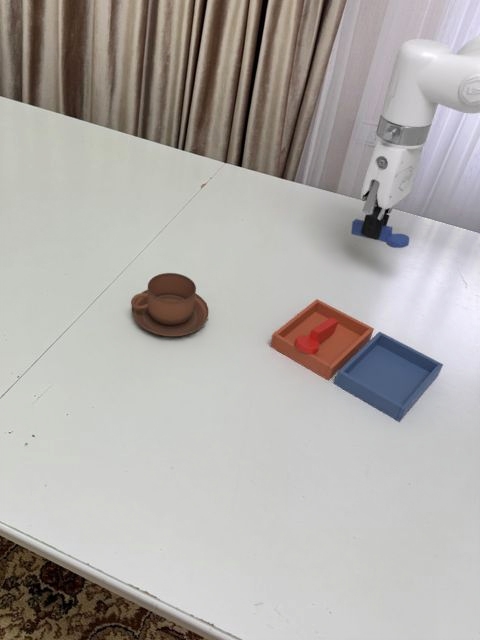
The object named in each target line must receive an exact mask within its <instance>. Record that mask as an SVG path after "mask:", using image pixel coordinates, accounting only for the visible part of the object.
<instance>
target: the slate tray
mask: <svg viewBox="0 0 480 640" xmlns="http://www.w3.org/2000/svg"><path fill="white" fill-rule="evenodd" d="M443 366H444V363H441V362H439V361H437V360H435V359H434V358H432V357H430V356H428V355H426V354H424V353H422V352H420V351H419V350H416V349H414V348H412V347H411V346H409V345H407V344H404V343H403V342H401V341H399V340H397V339H395V338H393V337H392V336H389V335H388V334H385V333H383V332H381V331H378V332H377V333H376V334H375V335H374V336H373V337H371V338H370V341H369V342H368V343H367V344H366V345H365V346H364V347H363V348H362V349H361V350H359V351H358V352H357V353H356V354H355V355H354V356H353V357H352V358H351V359H350V360H349V361H348V362H347V363H346V364H345V365H344V366H343V367H342V368H341V369H340V370H339V371H338V372H337V373H336V376H335V379H334V382H333V384H334V385H336V386H337V387H339V388H340V389H342V390H344V391H345V392H347V393H349V394H350V395H352V396H353V397H356V398H358V399H359V400H361V401H363V402H364V403H366V404H368V405H370V406H372V407H374V408H375V409H376V410H378V411H380V412H382V413H383V414H385V415H387V416H389V417H390V418H392V419H394V420H396V421H397V422H401V421H402V420H403V419H404V418H405V416H406V415H407V414H408V413H409V411H410V410H411V409H412V408H413V407H414V406H415V404H416V403H417V402H418V401H419V400H420V398H421V397H422V396H423V395H424V393H425V392H427V390H428V389H429V388H430V386H431V385H432V384H433V383H434V382H435V380H436V379H438V376H439V374H440V373H441V371H442V368H443Z"/></svg>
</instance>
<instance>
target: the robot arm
mask: <svg viewBox="0 0 480 640" xmlns="http://www.w3.org/2000/svg"><path fill="white" fill-rule="evenodd" d="M439 105H440V106H442V107H445V108H449V109H452V110H453V111H457V112H460V113H465V114H480V34H478V35H476V36H475V37H473V38H471V39H470V40H468V42H466V43H465V44H464V45H463V46H462V47H461V48H459V50H458V51H457V52H456V53H453V50H452V48H451V47H450V46H449V45H447V44H445V43H443V42H442V41H438V40H435V39H429V38H413V39H409V40H406V41H404V42H402V44H400V46H399V48H398V51H397V54H396V57H395V61H394V64H393V67H392V71H391V75H390V79H389V83H388V87H387V91H386V94H385V98H384V102H383V105H382V109H381V113H380V116H379V119H378V124H377V127H376V132H375V134H374V136H375V139H376V140H377V142H376V144H375V146H374V148H373V149H374V150H373V152H372V155H371V157H370V161H369V163H368V167H367V170H366V173H365V176H364V179H363V183H362V187H361V191H360V200H361V201H362V202H364V205H363V208H362V210H361V212H362V213H364V214H365V215H364V220H363V221H364V223H363V226H362V230H361V234H362V235H364V236H367V237H369V238H368V239H370V238H371V239H370V240H374V241H378V240H377V239H379V236H380V233H381V230H382V227H383V226H384V225H386V226H388V225H387V224H388V223H389V222H388V221H389V219H390V214H391V213H392V211H393V208H394V206H395V205H396V204H398V203H399V202H401V200H403V199H404V198H406V197H407V196H408V195H409V194H410V193H411V192H412V189H413V186H414V183H415V180H416V177H417V173H418V169H419V165H420V161H421V157H422V153H423V147H424V146H426V142H427V139H428V136H429V133H430V130H431V127H432V124H433V121H434V117H435V115H436V111H437V109H438V106H439Z"/></svg>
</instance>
